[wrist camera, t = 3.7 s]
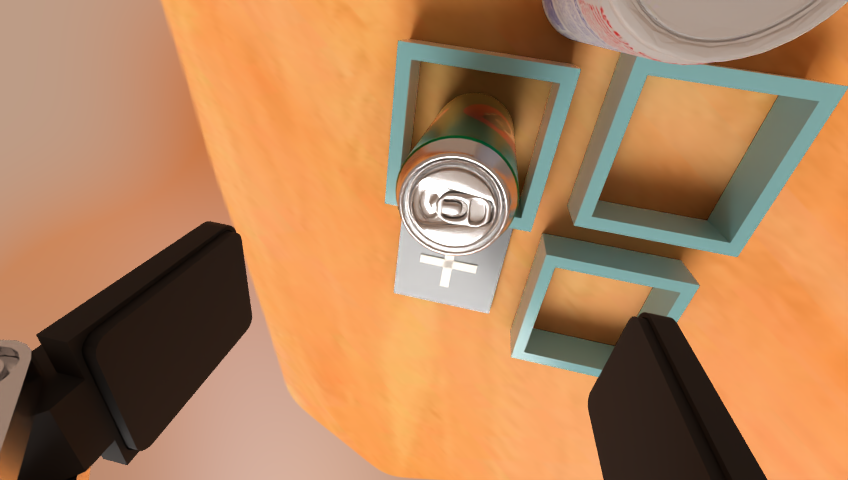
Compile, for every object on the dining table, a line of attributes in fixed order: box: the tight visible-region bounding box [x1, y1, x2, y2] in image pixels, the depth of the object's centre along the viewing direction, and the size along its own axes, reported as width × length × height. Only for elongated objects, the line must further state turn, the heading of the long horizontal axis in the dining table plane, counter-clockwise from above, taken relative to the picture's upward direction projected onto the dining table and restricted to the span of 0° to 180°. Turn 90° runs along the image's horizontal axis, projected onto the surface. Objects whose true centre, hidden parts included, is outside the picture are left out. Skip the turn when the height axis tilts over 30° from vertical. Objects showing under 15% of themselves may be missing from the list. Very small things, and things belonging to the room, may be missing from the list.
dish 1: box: [385, 39, 581, 232], centre depth 24 cm, size 10×10×3 cm
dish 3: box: [567, 52, 848, 257], centre depth 22 cm, size 10×10×3 cm
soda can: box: [395, 93, 519, 256], centre depth 20 cm, size 5×5×12 cm
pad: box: [394, 222, 513, 314], centre depth 30 cm, size 8×8×1 cm
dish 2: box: [510, 233, 700, 377], centre depth 28 cm, size 10×10×3 cm
